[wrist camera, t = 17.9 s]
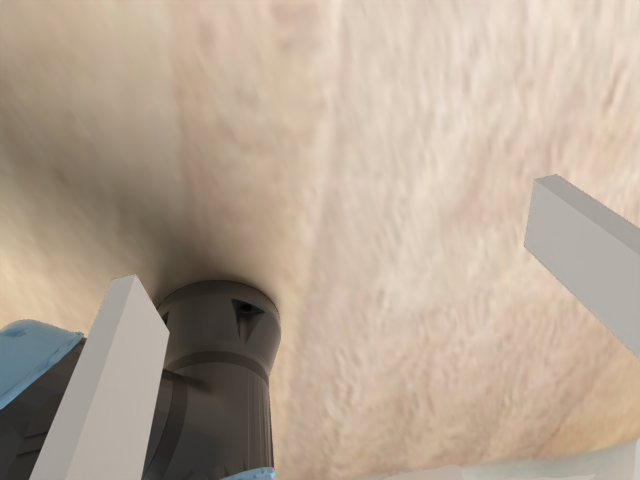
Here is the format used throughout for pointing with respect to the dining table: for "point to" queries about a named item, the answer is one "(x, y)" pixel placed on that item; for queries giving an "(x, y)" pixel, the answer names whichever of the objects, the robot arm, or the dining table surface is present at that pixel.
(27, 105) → the dining table surface
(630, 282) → the robot arm
